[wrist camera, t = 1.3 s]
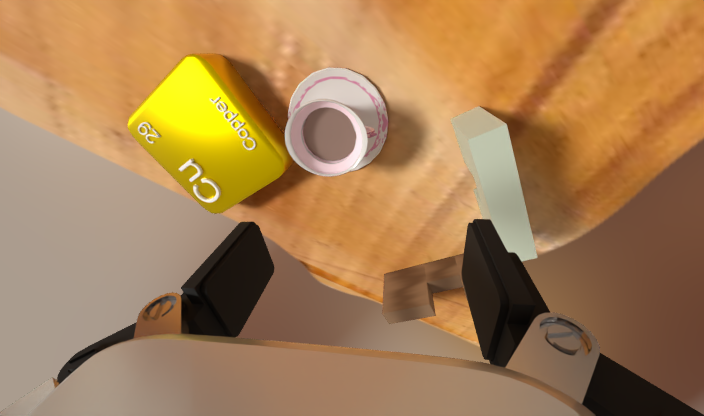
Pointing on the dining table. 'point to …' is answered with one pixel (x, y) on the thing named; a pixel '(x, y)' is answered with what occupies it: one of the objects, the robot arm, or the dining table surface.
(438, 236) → the dining table surface
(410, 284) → the walnut upright plate
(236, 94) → the element tile
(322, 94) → the teacup
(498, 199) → the sage cross-piece
